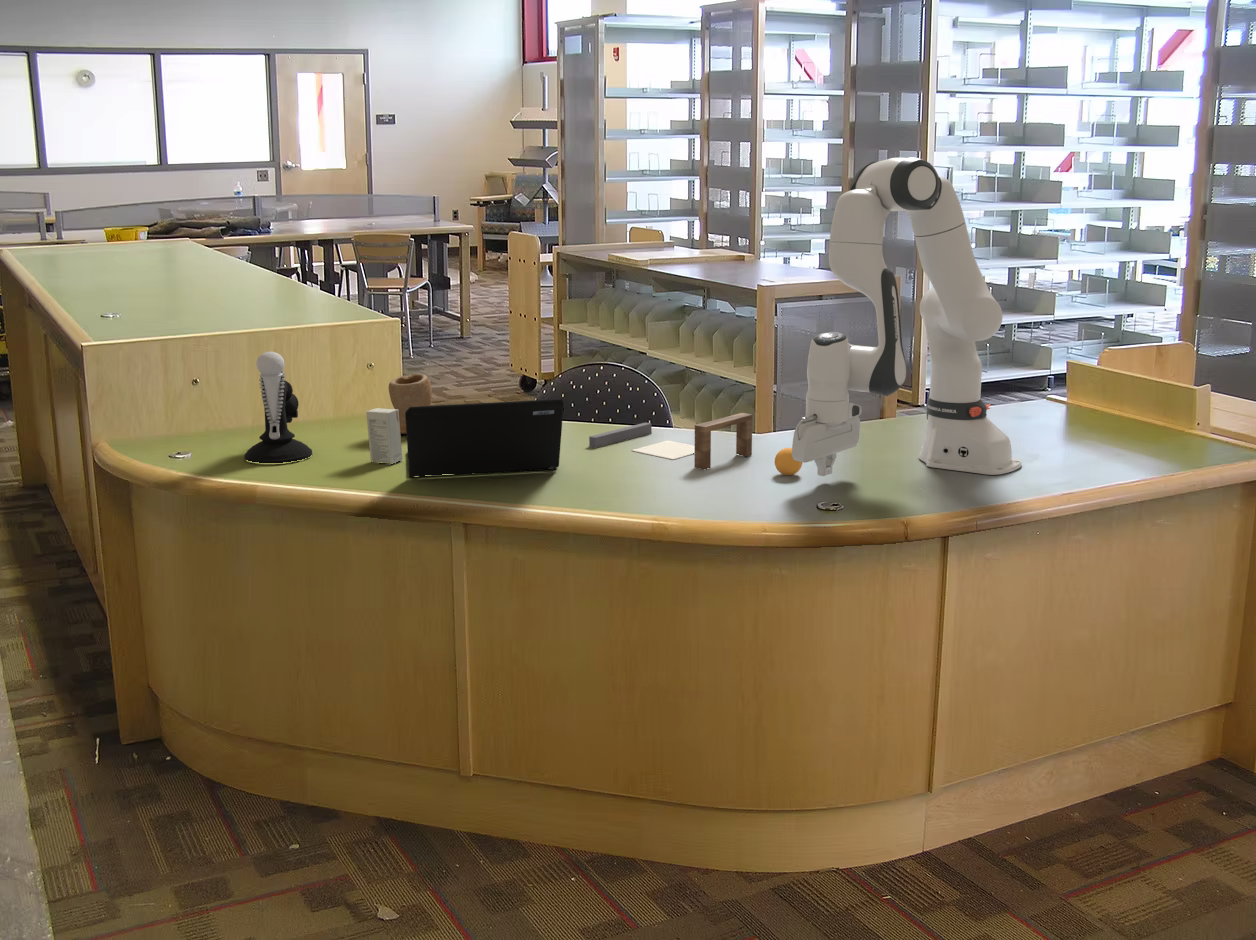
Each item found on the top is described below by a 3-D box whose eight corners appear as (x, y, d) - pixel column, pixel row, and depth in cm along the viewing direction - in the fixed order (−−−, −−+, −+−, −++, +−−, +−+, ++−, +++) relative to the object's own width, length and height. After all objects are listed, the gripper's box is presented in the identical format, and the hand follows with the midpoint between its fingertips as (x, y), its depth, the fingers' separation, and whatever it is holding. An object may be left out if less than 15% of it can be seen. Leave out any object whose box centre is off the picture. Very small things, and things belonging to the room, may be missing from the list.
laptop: (547, 447, 304) (545, 367, 299) (567, 488, 268) (565, 399, 263) (407, 454, 298) (403, 373, 293) (408, 497, 262) (403, 406, 258)
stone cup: (384, 439, 312) (380, 379, 308) (396, 428, 323) (393, 370, 319) (444, 439, 310) (441, 379, 307) (454, 428, 322) (452, 370, 318)
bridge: (751, 455, 292) (752, 414, 290) (704, 469, 280) (705, 427, 278) (741, 453, 294) (742, 412, 292) (694, 467, 282) (694, 425, 280)
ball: (807, 474, 275) (808, 447, 274) (791, 480, 271) (791, 453, 270) (785, 470, 279) (785, 443, 278) (768, 475, 275) (769, 448, 273)
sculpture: (239, 466, 287) (229, 357, 280) (257, 442, 309) (249, 341, 303) (307, 464, 288) (299, 355, 282) (321, 440, 311) (313, 339, 304)
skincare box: (403, 461, 290) (400, 409, 287) (392, 465, 286) (389, 412, 283) (380, 458, 293) (377, 406, 289) (368, 462, 289) (365, 410, 286)
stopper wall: (651, 433, 315) (651, 423, 314) (595, 447, 300) (595, 437, 300) (645, 432, 316) (645, 422, 315) (589, 446, 302) (589, 436, 301)
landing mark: (709, 449, 298) (709, 448, 298) (673, 459, 289) (673, 459, 289) (667, 441, 306) (667, 440, 306) (631, 450, 297) (631, 450, 297)
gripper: (810, 421, 255) (808, 487, 259) (866, 405, 270) (863, 468, 273) (785, 416, 260) (783, 481, 263) (841, 401, 274) (838, 463, 278)
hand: (824, 474), depth 268 cm, fingers closed
